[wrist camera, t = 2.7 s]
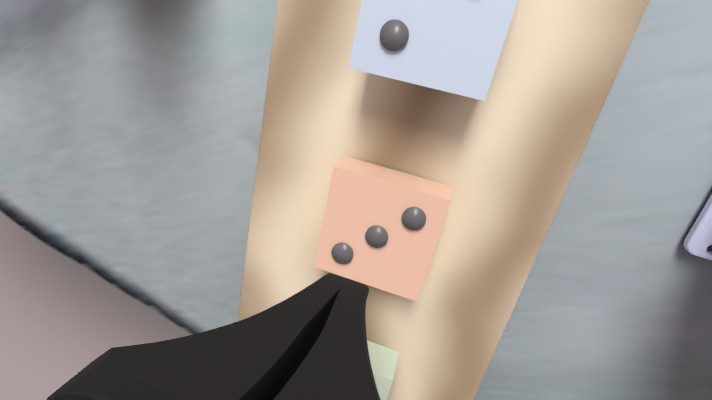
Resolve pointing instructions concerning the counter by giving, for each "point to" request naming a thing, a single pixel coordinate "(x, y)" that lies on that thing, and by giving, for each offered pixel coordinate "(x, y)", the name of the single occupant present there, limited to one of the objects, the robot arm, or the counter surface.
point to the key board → (431, 171)
